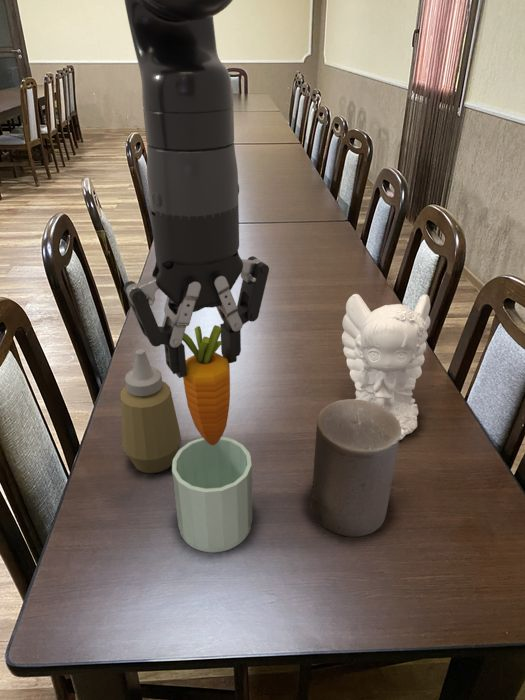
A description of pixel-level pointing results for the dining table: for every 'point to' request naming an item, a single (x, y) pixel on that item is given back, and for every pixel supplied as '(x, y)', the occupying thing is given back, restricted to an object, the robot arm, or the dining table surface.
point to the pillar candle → (354, 466)
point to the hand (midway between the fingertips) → (204, 365)
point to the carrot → (207, 385)
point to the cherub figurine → (387, 354)
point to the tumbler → (213, 493)
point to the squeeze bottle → (148, 418)
